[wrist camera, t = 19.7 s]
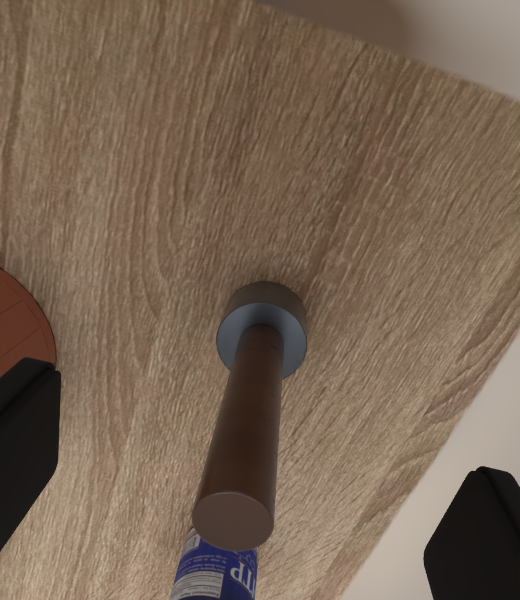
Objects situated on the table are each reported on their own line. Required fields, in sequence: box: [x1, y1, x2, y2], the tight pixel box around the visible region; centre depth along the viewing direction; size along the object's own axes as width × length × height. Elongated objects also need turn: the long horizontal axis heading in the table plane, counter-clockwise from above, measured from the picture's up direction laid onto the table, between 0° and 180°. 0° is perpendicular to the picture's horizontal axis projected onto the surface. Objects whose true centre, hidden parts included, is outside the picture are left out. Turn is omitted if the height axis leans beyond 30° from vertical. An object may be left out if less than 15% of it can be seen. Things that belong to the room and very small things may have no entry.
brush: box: [192, 282, 307, 551], centre depth 17 cm, size 4×4×13 cm
